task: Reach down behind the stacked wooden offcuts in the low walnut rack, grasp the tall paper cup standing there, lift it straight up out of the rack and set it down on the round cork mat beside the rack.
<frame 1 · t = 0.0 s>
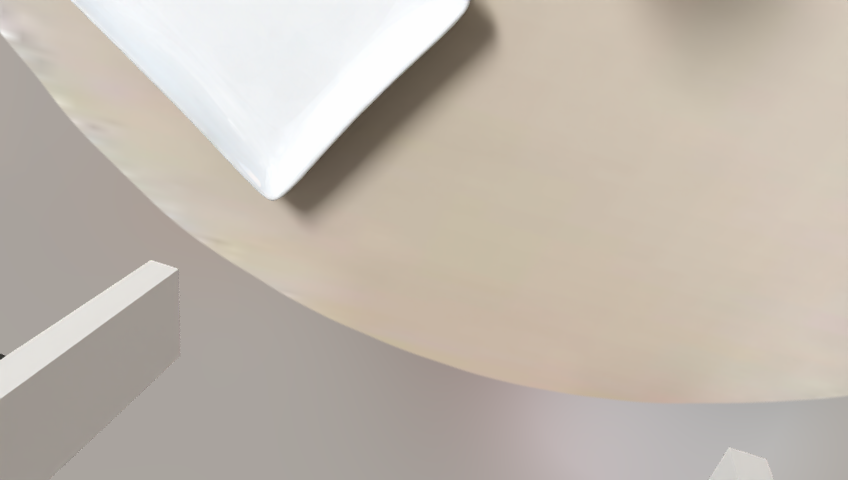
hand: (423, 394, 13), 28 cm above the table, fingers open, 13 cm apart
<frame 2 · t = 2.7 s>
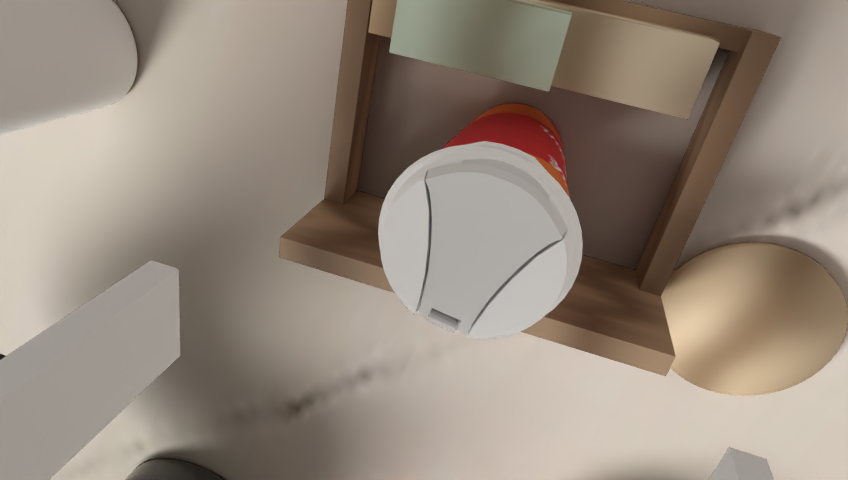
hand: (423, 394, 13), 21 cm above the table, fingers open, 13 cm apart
paper cup: (513, 149, 32), resting in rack
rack: (518, 130, 32), on the table
pill bottle: (89, 42, 36), on the table
mat: (742, 320, 33), on the table
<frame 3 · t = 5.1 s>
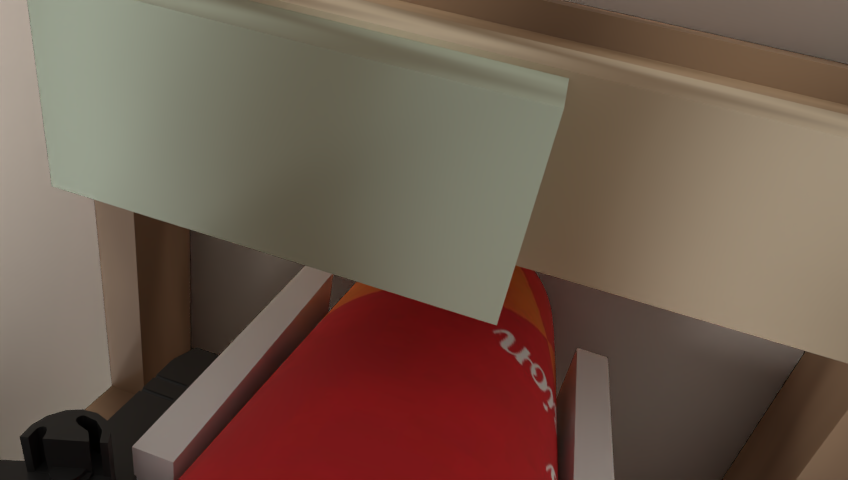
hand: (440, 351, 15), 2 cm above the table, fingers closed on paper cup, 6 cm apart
paper cup: (458, 308, 17), resting in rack, touching gripper
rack: (466, 278, 16), on the table
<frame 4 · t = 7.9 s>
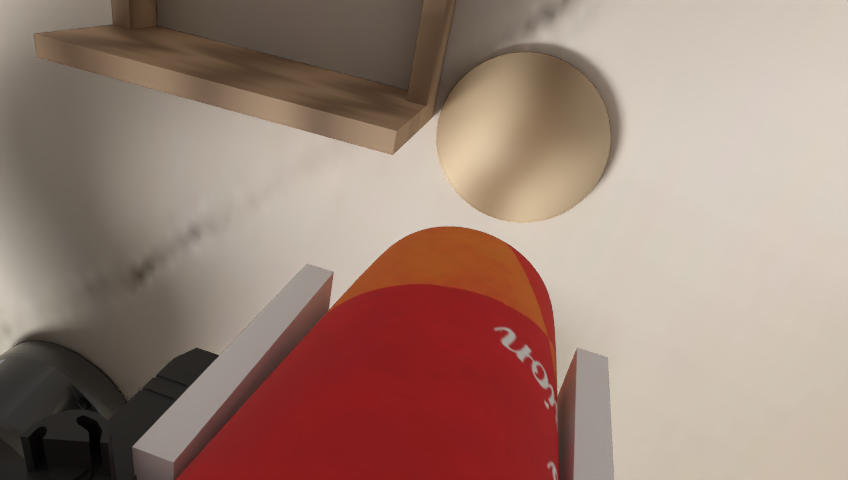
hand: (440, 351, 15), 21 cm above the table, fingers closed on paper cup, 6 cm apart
paper cup: (459, 306, 17), point 19 cm above the table, touching gripper
mat: (521, 140, 33), on the table
when the fingers open (4 cm above the table, at t = 10.7 s): paper cup moves 3 cm, resting on mat.
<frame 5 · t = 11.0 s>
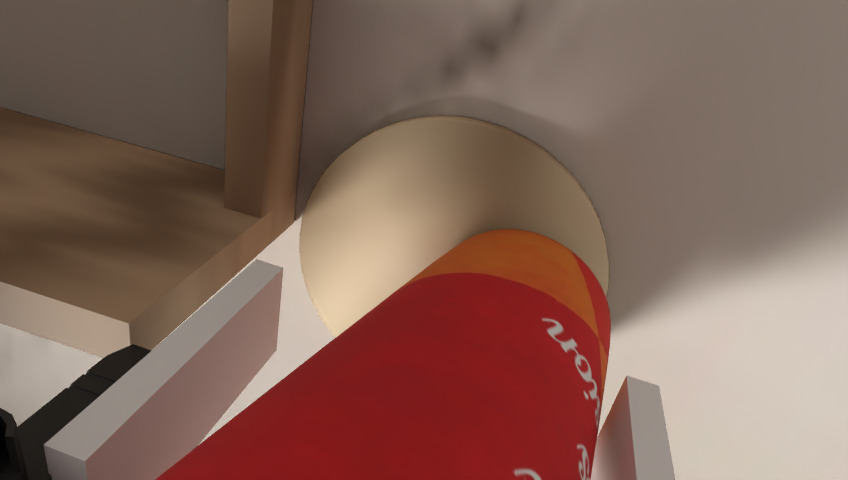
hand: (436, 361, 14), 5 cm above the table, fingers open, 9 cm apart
paper cup: (520, 308, 17), point 1 cm above the table, touching mat
mat: (448, 267, 19), on the table
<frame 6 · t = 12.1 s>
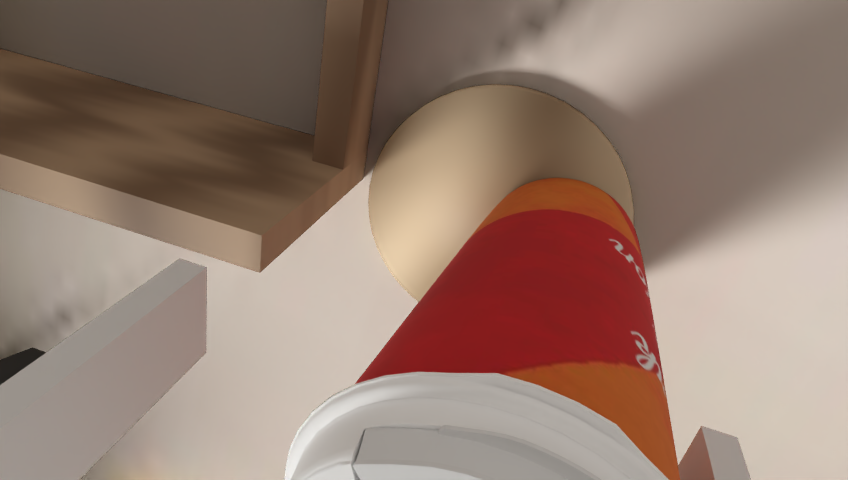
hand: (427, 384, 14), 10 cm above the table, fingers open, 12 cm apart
paper cup: (559, 244, 21), point 1 cm above the table, touching mat
mat: (495, 216, 22), on the table
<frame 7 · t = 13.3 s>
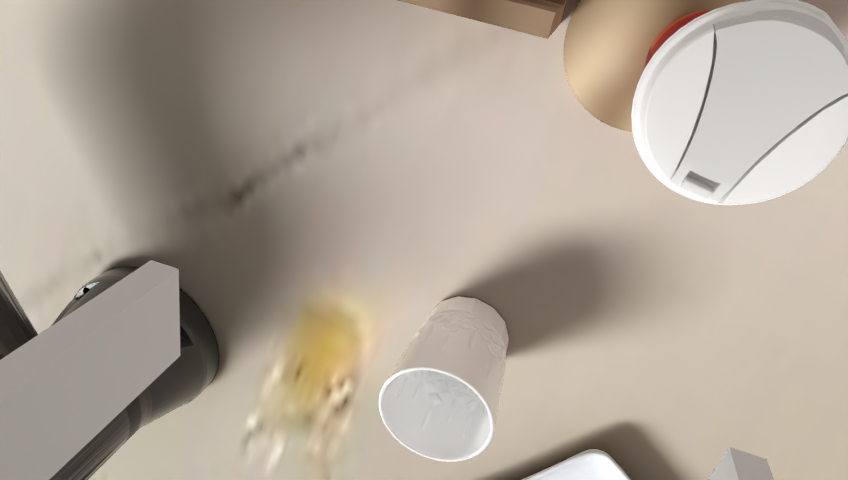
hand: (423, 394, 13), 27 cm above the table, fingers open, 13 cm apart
paper cup: (697, 61, 32), resting on mat
white cup: (468, 330, 46), on the table
mat: (651, 46, 33), on the table
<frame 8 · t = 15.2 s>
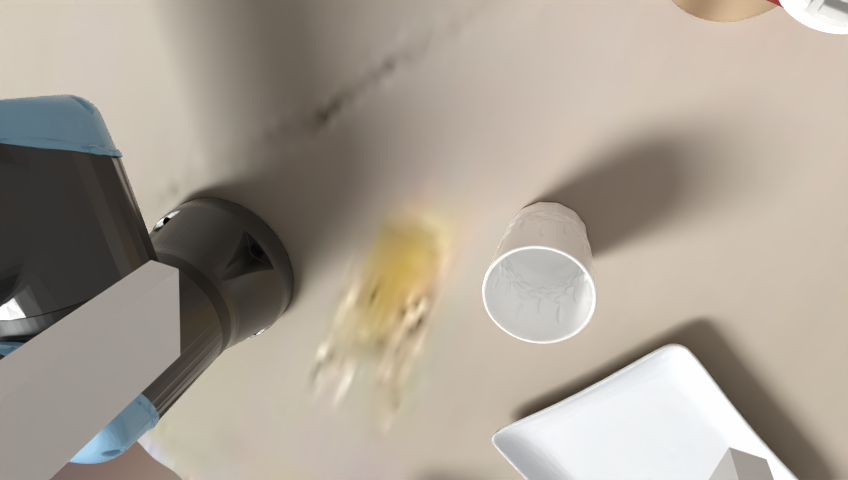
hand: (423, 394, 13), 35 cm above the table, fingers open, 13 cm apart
salad plate: (641, 445, 55), on the table
white cup: (547, 236, 48), on the table
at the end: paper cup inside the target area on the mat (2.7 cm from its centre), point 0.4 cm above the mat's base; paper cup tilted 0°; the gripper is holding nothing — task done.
